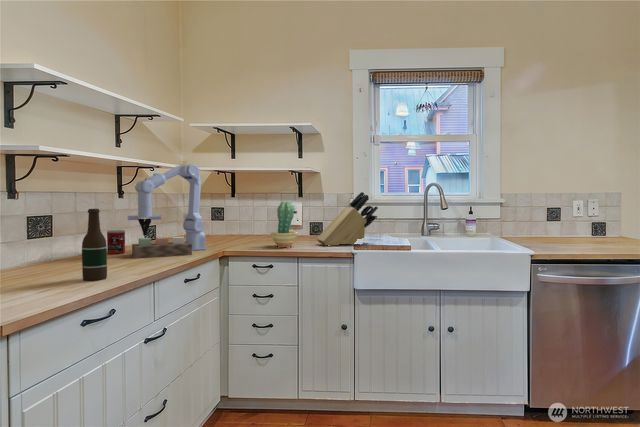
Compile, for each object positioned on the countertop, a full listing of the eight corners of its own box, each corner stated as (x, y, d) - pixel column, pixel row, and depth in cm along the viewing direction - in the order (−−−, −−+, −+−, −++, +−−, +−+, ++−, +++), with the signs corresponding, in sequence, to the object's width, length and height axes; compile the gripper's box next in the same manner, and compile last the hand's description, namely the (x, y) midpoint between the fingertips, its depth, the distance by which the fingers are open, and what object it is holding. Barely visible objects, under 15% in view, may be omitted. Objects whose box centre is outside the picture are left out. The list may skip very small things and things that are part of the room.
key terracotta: (166, 245, 200) (166, 237, 200) (168, 246, 196) (168, 238, 195) (155, 245, 198) (155, 237, 197) (157, 247, 193) (157, 238, 193)
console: (186, 251, 208) (186, 241, 208) (191, 254, 197) (191, 243, 197) (132, 254, 197) (132, 243, 196) (134, 258, 185) (134, 246, 185)
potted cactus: (302, 247, 226) (302, 201, 225) (276, 249, 219) (276, 201, 218) (291, 244, 239) (291, 201, 238) (266, 245, 232) (266, 201, 231)
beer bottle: (112, 276, 145) (110, 208, 144) (101, 281, 138) (99, 209, 136) (89, 276, 145) (88, 208, 144) (77, 281, 137) (75, 209, 136)
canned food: (105, 254, 195) (105, 231, 195) (109, 252, 203) (109, 230, 202) (123, 254, 197) (123, 231, 197) (126, 251, 205) (126, 229, 204)
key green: (150, 246, 196) (150, 237, 196) (151, 247, 192) (151, 238, 192) (138, 246, 194) (138, 238, 194) (139, 248, 190) (139, 239, 189)
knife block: (378, 244, 243) (379, 191, 242) (323, 246, 230) (323, 191, 229) (369, 242, 254) (370, 191, 252) (316, 244, 241) (316, 191, 239)
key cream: (182, 244, 204) (182, 236, 203) (184, 245, 199) (184, 237, 199) (172, 245, 201) (172, 236, 201) (173, 246, 197) (173, 237, 197)
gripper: (128, 206, 186) (128, 236, 187) (162, 206, 193) (162, 235, 193) (127, 206, 192) (127, 235, 193) (160, 205, 199) (160, 234, 200)
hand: (144, 235), depth 194 cm, fingers closed
